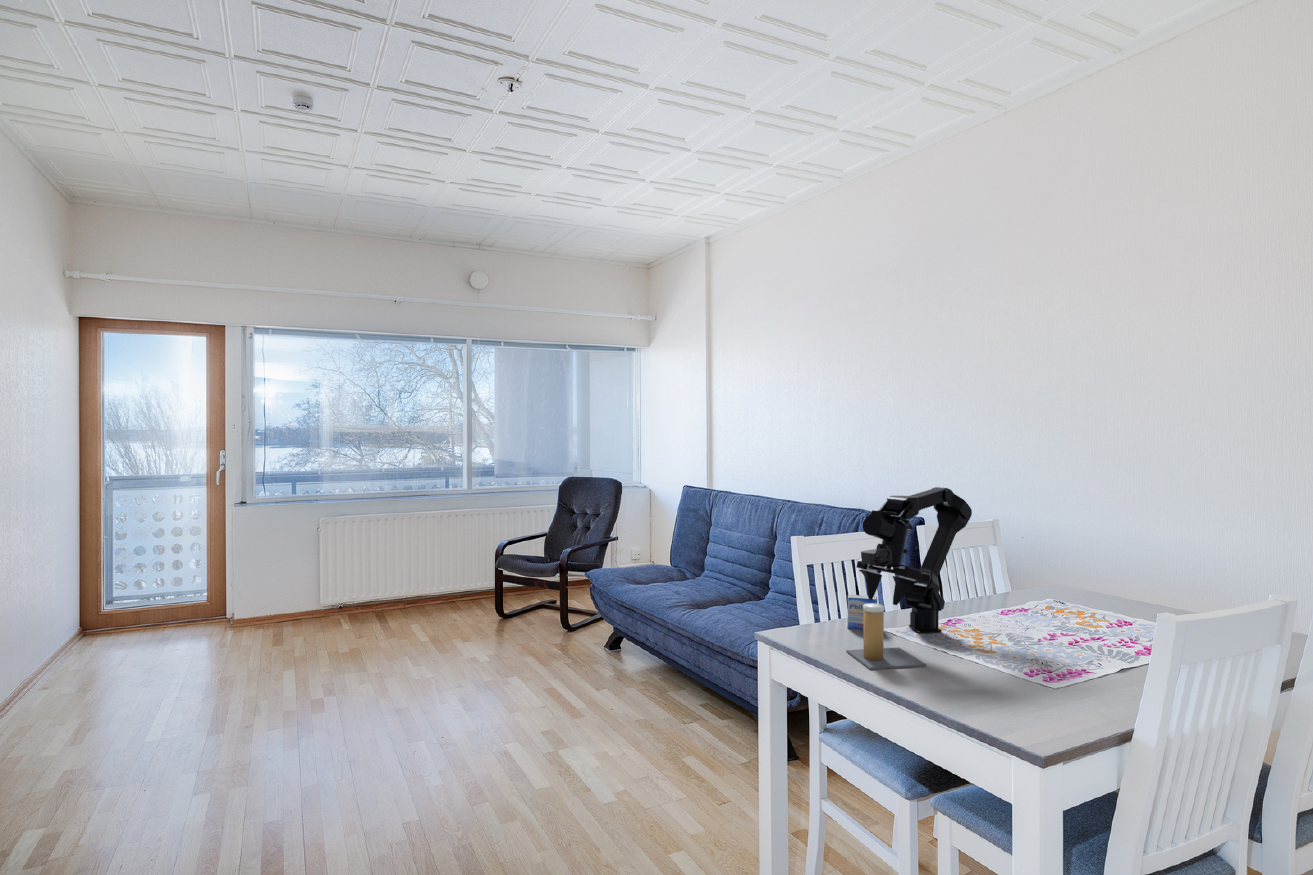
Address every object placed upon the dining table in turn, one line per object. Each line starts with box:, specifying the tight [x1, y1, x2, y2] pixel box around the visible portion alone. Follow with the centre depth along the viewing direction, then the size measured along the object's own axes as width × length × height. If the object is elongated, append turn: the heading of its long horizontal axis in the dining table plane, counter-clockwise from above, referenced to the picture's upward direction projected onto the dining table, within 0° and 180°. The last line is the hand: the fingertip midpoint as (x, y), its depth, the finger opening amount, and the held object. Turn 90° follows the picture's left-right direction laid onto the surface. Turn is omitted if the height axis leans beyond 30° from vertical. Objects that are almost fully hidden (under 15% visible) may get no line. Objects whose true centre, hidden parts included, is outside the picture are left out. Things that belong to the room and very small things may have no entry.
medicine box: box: [847, 594, 878, 630], centre depth 201 cm, size 8×4×9 cm, turn 73°
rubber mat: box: [845, 646, 927, 671], centre depth 174 cm, size 14×13×1 cm
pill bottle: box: [863, 603, 885, 661], centre depth 174 cm, size 5×5×12 cm
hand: (882, 601), depth 188 cm, fingers open, 9 cm apart
